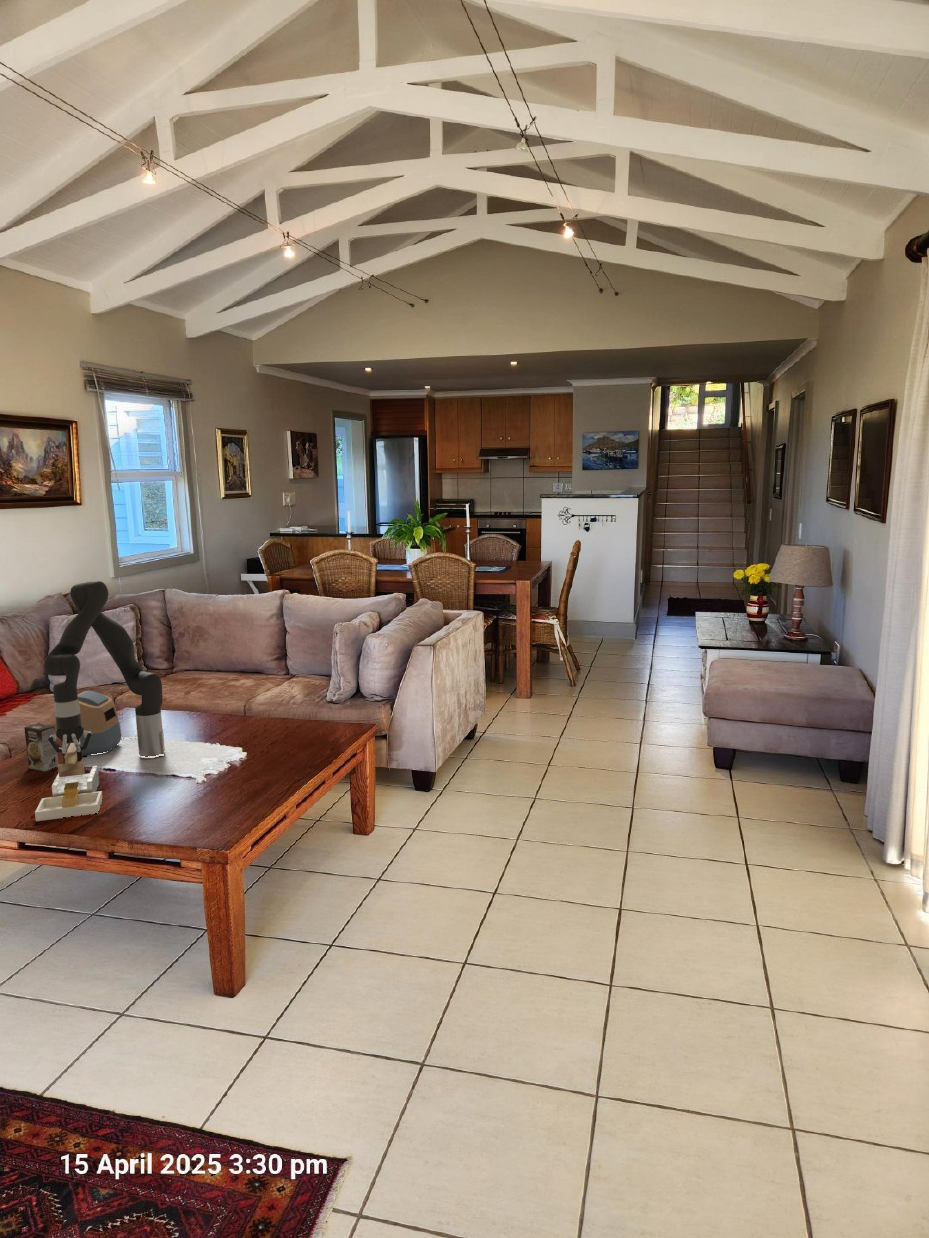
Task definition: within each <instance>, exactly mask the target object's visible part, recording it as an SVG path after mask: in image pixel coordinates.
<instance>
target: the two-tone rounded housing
mask: <svg viewBox="0 0 929 1238" xmlns="http://www.w3.org/2000/svg"><path fill="white" fill-rule="evenodd" d="M77 695H78V701H79V706H80V714H81V723H82V727H83V729H84V730H85V731H88V732H89V731H92V735H91V737H90V740H89V743H88V745H87V748H86V749H85V750H82V756H92V755H91V754H97V753H103V752H107V751H109V750H110V749H111V748H113V747H114V748H116V747H117V746H118V745H119V743H120V742H121V740H122V739H121V738H122V731H121V723H120V722H119V717H118V711H117V707H116V704H115V702H114V700H113V699H112V698H111V697H109V696H108V695H105V694H103V693H100V692H97V691H93V690H84V691H82V692H80V693H77ZM85 739H86V738H85V737H84V734H82V736H81V737H80V739H79V740H80V743H81V746H82V745H84V742H85ZM70 744H71V742H70V743H68V745H67V749H68V748H69V746H70ZM117 744H118V745H117ZM116 745H117V746H116ZM115 746H116V747H115ZM114 748H113V749H114ZM111 750H112V749H111ZM111 750H110V751H111ZM110 751H109V752H110ZM107 753H108V752H107Z"/></svg>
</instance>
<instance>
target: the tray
mask: <svg viewBox="0 0 929 1238" xmlns="http://www.w3.org/2000/svg"><path fill="white" fill-rule="evenodd" d="M62 797H63V796H57V797H53V796H49V797H44V798H43V797H42V798H41V799H40V802H39V804H38V806H37V808H36V809H35V811H34V817H35V818H34V819H35V822H40V821H49V820H57V819H64V818H63V817H66V818H70V817H71V816H74V817H80V816H81V815H82V816H87V815H89V814H90V815H94V814H95V813H97V814H99V812H100V809H101V806H102V803H103V800H104V799H103V791H102V790H100V791H99V790H98V791H96V792H91V793H82V794H80V796H79V799H78V806H75V807H66V808H62V801H61V799H62ZM102 799H103V800H102ZM100 805H101V806H100ZM98 811H99V812H98ZM71 818H72V817H71Z"/></svg>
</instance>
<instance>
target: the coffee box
mask: <svg viewBox="0 0 929 1238" xmlns="http://www.w3.org/2000/svg"><path fill="white" fill-rule="evenodd" d="M23 729H24V736H25V737H24V739H25V744H26V753H27V764H28V769H32V770H35V771H36V770H37V771H39V772H40V771H41V772H48V771H50V770H53V769H56V768H58V764H59V755H58V754H59V753H57V752H56V751H55V749H54V748H53V746H52V745H51V743H50V742H49V740H48V738H49V736H50V735H54V734H56V725H52V724H47V723H42V722H38V723H35V724H29V725H26V726H25V727H23ZM55 767H56V768H55ZM52 768H53V769H52Z"/></svg>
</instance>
